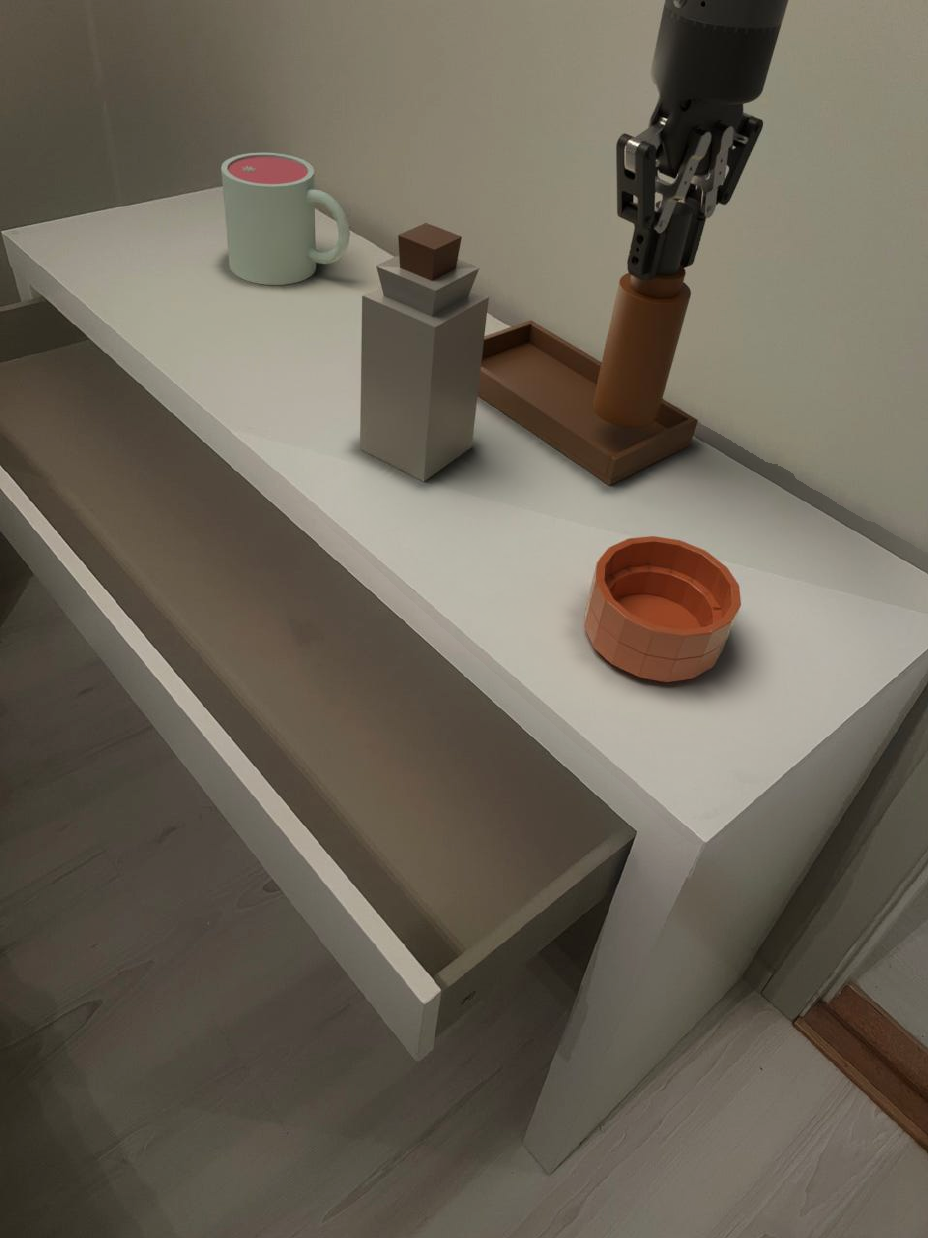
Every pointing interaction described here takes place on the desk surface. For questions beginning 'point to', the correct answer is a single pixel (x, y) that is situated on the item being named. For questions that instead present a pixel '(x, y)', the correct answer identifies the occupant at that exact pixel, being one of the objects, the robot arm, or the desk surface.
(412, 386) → the perfume bottle
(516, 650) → the desk surface
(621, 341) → the bottle
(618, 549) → the bowl
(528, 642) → the desk surface
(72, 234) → the desk surface
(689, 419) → the tray
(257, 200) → the mug
